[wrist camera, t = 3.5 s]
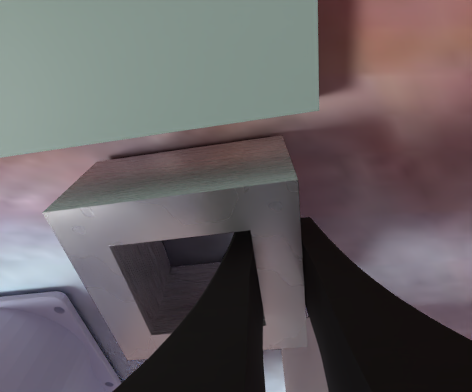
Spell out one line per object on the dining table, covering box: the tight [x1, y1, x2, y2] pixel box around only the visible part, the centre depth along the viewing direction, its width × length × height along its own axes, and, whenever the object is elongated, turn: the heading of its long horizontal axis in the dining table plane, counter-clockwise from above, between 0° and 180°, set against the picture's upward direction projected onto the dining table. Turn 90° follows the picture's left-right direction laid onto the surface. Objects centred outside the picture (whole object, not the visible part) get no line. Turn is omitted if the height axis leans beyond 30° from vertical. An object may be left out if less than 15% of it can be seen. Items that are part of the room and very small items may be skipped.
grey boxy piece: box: [43, 135, 308, 360], centre depth 11 cm, size 7×7×4 cm
